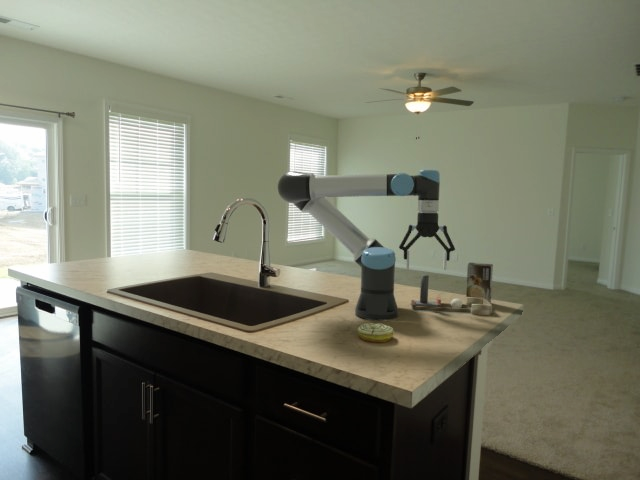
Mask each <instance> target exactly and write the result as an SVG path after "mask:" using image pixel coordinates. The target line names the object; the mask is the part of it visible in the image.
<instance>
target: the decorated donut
mask: <svg viewBox="0 0 640 480" xmlns="http://www.w3.org/2000/svg"><path fill="white" fill-rule="evenodd" d="M394 334H395V331H394V328H393V327H392V326H389V325H387V324H383V323H378V322H375V323H373V322H371V323H369V322H368V323H363V324H360V326H359V327H358V328H357V335H358V336H359V338H361V340H364V341H365V340H366V341H365V342H369V341H371V342H370V343H376V342H380V343H386V342H389V341H390V340H391V339H392V338H393V336H394Z"/></svg>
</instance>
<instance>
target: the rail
mask: <svg viewBox="0 0 640 480" xmlns="http://www.w3.org/2000/svg"><path fill="white" fill-rule="evenodd" d="M415 301H416V300H415V299H411V303H410V306H411V305H412V307H411V310H412V309H413V310H431V311H450V312H469V313H471V309H467V304H466V303H462V307H461V308H448V307H452V306H451V302H450V303H449V302H441V307H428V306H416V305H415Z"/></svg>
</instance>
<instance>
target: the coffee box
mask: <svg viewBox="0 0 640 480" xmlns="http://www.w3.org/2000/svg"><path fill="white" fill-rule="evenodd" d="M493 267H494V265H493V263H481V262H469V263H467V267H466V269H467V270H466V272H467V273H466V291H465V293H466V296H465V298H466V297H474V298H485V299H486V300H487V301H488V302H489V303H490V304H491V305H492V295H493V294H492V293H493V289H492V287H493V271H494V270H493Z"/></svg>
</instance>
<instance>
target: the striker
mask: <svg viewBox="0 0 640 480" xmlns="http://www.w3.org/2000/svg"><path fill="white" fill-rule="evenodd" d="M429 279H430V276H429V275H428V274H421V275H420V289H419V290H420V293H419V294H420V295H419V296H420V297H419V300H414V301H415V305H416V306H428V307H441V303H442V299H441V297H440V296H436V301H429V300H428V299H429Z"/></svg>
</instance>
